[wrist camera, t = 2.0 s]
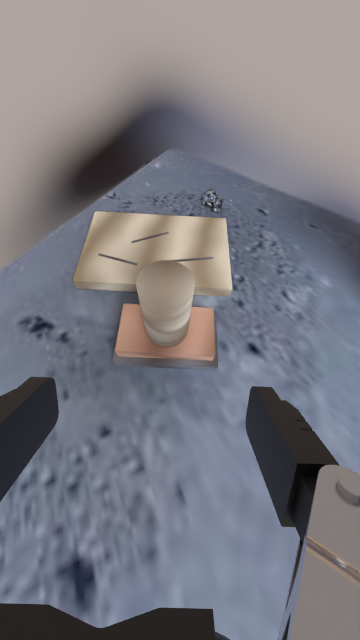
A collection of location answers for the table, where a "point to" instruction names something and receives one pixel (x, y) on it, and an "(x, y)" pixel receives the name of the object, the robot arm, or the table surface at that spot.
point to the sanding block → (166, 323)
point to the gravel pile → (212, 201)
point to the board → (154, 251)
